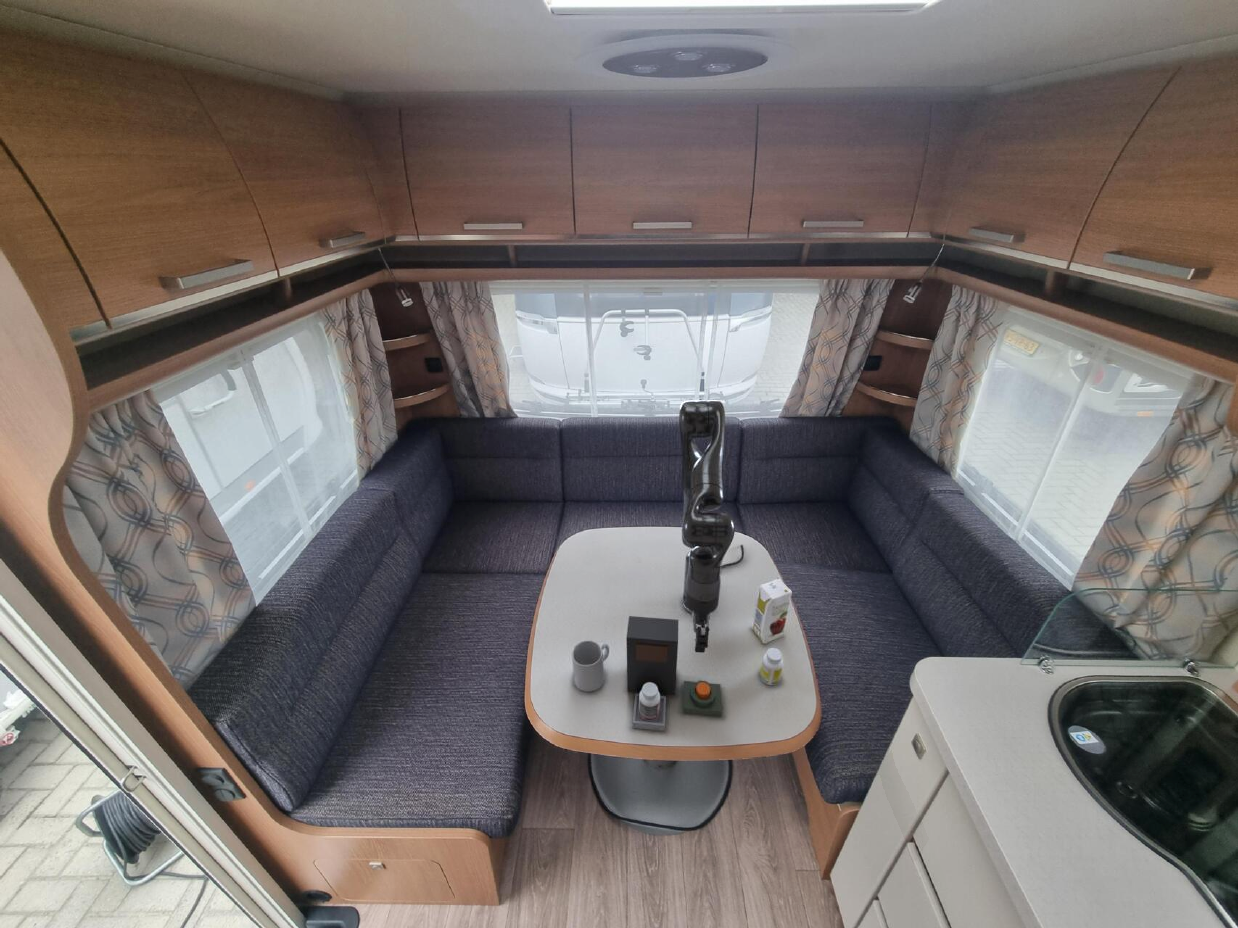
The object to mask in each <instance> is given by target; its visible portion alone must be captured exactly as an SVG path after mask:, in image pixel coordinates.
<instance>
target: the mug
mask: <svg viewBox="0 0 1238 928" xmlns="http://www.w3.org/2000/svg"><path fill="white" fill-rule="evenodd" d="M603 650H604V652H603ZM609 655H610V646H609V644H608V642H605V641H604V642H602V643H600V644H599V643H598V642H596V641H593V640H583V641H580V642H578V643H577V644H576V645H575V646H574V647H573V648H572V651H571V661H572V671H573V681H574V684H575V687H577V688H578V689H579V690H580V691H582V692H587V693H588V692H589V693H590V692H594V691H596V690H598V689H599V688H601V686H602V685H603V683H604V680H605V670H604V669H605V668H604V662H605V661H606V660H607V659H608V657H609Z"/></svg>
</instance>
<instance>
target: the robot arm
mask: <svg viewBox="0 0 1238 928" xmlns="http://www.w3.org/2000/svg"><path fill="white" fill-rule="evenodd" d="M678 412H679V413H678V422H679V423H678V425H679V435H680V436H679V437H680V446H681V489H682V490H681V491H682V522H681V523H682V524H681V542H682V544H683V545H684V546H685V547H686V548H689V549H691V550H690V551H688V552H687V554H686V556H685V563H684V578H683V579H684V580H683V591H682V606H683V608H684V610H686V611H687V612H689V613H690V614H691V615H692V617H691V618H692V623H693V627H692V629H693V632H694V633H695V638H694V641H695V643H694V652H695V653H699V654H700V653H701V654H704V653H705V651H706V649H708V648H709V635H710V620H711V613H713V612H714V611H716V610H717V608H718V607H719V602H720V601H719V600H720V594H721V593H720V592H721V583H722V580H721V579H722V578H721V574H722V569H723V568H725V567H730V566H735V565H738V564H740V563H741V562H742V561H743V560H744V557H745V549H744V545H743V544H740V550H741V556H740V558H739V560H737V561H734V562H730V563H725V564H723V560H724V558H725V556H726V554H727V552H728V550H729V548H730V547H731V545H732V542H733V540H734V538H735V537H734V536H735V532H736V527H735V522H734V520H733V518H732V517H731V516H730V515H728V514H727V513H723V512H722V513H721V512H712V511H716V510H718V509H720V508H721V506H722V505H723V504H724V485H723V484H724V482H723V462H724V460H723V459H724V452H725V440H726V439H725V436H726V412H725V407H724V404H723V403H722V401H720V400H715V399H714V400H713V399H709V400H686V401H683V402H682V403H681V405H680V407H679V411H678ZM696 439H710V442H709V443H708V445H707V447H706V448H705V450H704V451H703V452H702V451H701V450H700V448H699V446H698V445H697V442H696Z"/></svg>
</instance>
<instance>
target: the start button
mask: <svg viewBox="0 0 1238 928" xmlns="http://www.w3.org/2000/svg"><path fill="white" fill-rule="evenodd" d="M696 694H697V696H698V697H700V698H702V699H705V698H708V697H709V695H710V687H709V685H708V684H706V683H704V682H701V683H699V684H698V685H697V687H696Z"/></svg>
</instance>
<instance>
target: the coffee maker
mask: <svg viewBox="0 0 1238 928" xmlns="http://www.w3.org/2000/svg"><path fill="white" fill-rule="evenodd" d="M679 621H680V620H679V619H672V618H661V617H647V616H634V615H629V616H628V622H627V630H626V637H625V638H626V685H627V686H626V687H627V689H626V690H627V692H631V693H632V692H633V693H635V695H634V705H633V706H634V707H633V715H632V716H633V717H632V728H633V729H639V730H651V731H660V732H666V730H665V729H666V710H667V709H666V708H667V707H666V706H667V696H673V697H675V696H676V683H677V670H678V669H677V665H678V654H679V653H678V652H679V651H678V650H679ZM648 682H651V683H654V684H655V685H656V686H657V688H658V691H659V693H660V713H659V716H658V718H657V719H656V720H654V721H646V720H644V719H643V718H642V717H641V716H640V713H639V694H640V691H641V690H642V687H643V685H644V684H646V683H648Z"/></svg>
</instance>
